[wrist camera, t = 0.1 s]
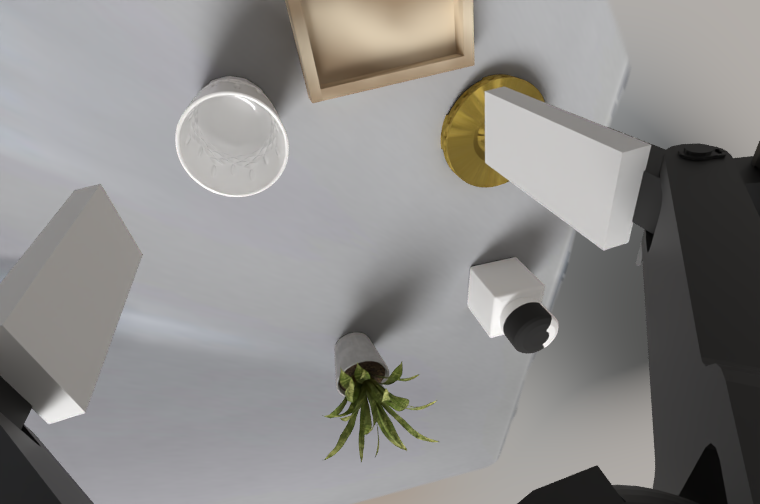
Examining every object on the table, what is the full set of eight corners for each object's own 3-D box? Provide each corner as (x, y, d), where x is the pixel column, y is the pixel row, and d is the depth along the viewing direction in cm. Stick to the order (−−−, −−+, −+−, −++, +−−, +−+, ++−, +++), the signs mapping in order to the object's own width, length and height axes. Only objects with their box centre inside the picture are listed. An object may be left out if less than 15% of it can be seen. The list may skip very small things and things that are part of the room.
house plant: (424, 312, 59) (478, 406, 46) (388, 381, 65) (427, 482, 51) (329, 298, 53) (359, 402, 40) (299, 376, 59) (316, 489, 45)
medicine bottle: (466, 305, 61) (509, 366, 51) (469, 265, 57) (517, 323, 47) (510, 295, 62) (560, 352, 52) (516, 255, 58) (571, 309, 48)
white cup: (294, 129, 41) (308, 164, 33) (226, 169, 41) (222, 214, 33) (246, 51, 36) (248, 69, 28) (169, 97, 37) (149, 128, 28)
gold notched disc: (476, 198, 52) (485, 206, 50) (418, 133, 45) (426, 139, 43) (552, 127, 49) (564, 132, 48) (503, 47, 43) (514, 50, 41)
